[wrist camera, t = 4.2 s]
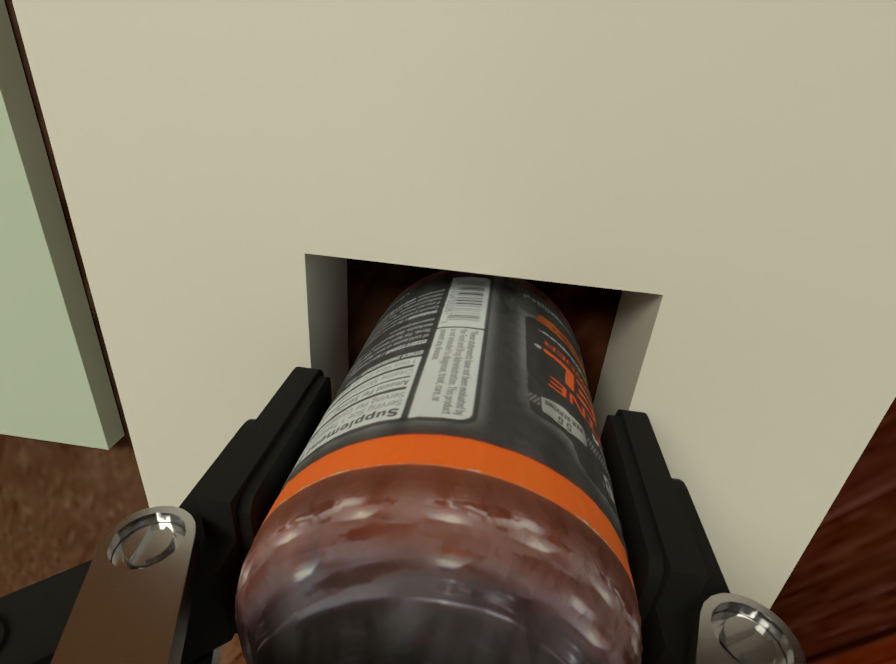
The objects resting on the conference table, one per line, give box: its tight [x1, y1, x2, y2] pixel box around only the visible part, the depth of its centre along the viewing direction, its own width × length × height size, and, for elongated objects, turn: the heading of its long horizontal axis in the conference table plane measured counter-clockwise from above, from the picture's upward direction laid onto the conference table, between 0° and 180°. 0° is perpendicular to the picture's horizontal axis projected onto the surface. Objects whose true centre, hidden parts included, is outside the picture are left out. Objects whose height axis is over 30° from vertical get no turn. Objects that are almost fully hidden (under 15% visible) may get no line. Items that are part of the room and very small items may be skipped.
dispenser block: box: [12, 0, 896, 609], centre depth 13 cm, size 18×18×4 cm
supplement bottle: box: [235, 270, 643, 664], centre depth 10 cm, size 6×6×11 cm
